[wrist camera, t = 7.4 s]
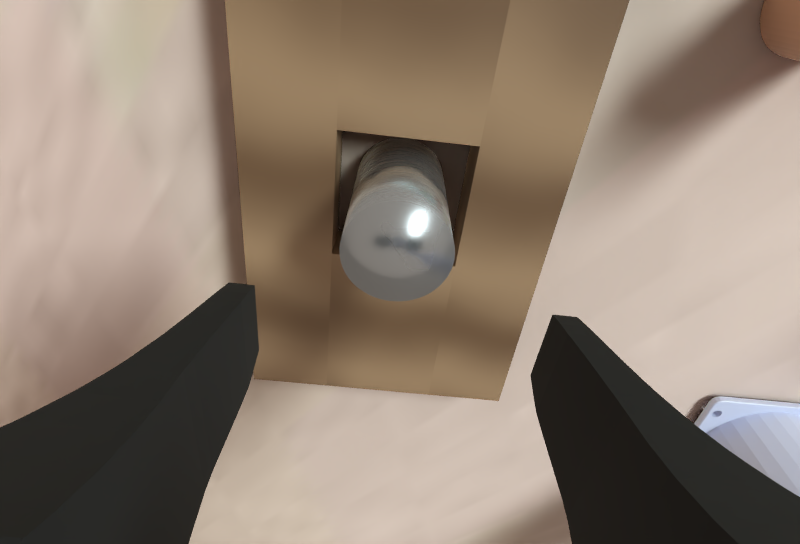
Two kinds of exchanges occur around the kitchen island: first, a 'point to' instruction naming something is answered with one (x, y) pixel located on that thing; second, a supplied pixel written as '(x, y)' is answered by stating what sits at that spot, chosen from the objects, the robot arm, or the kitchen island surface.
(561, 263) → the kitchen island surface
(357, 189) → the steel pin
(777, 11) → the terracotta pin
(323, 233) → the wooden board with hole
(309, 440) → the kitchen island surface
